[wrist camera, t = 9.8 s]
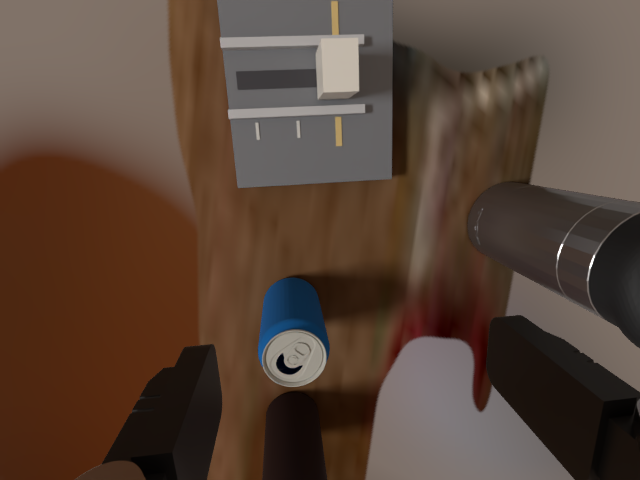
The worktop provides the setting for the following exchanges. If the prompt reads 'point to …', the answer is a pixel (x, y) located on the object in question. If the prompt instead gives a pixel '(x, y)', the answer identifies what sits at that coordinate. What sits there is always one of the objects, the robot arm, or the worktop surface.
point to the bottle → (293, 440)
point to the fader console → (306, 91)
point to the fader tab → (337, 68)
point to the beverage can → (292, 333)
